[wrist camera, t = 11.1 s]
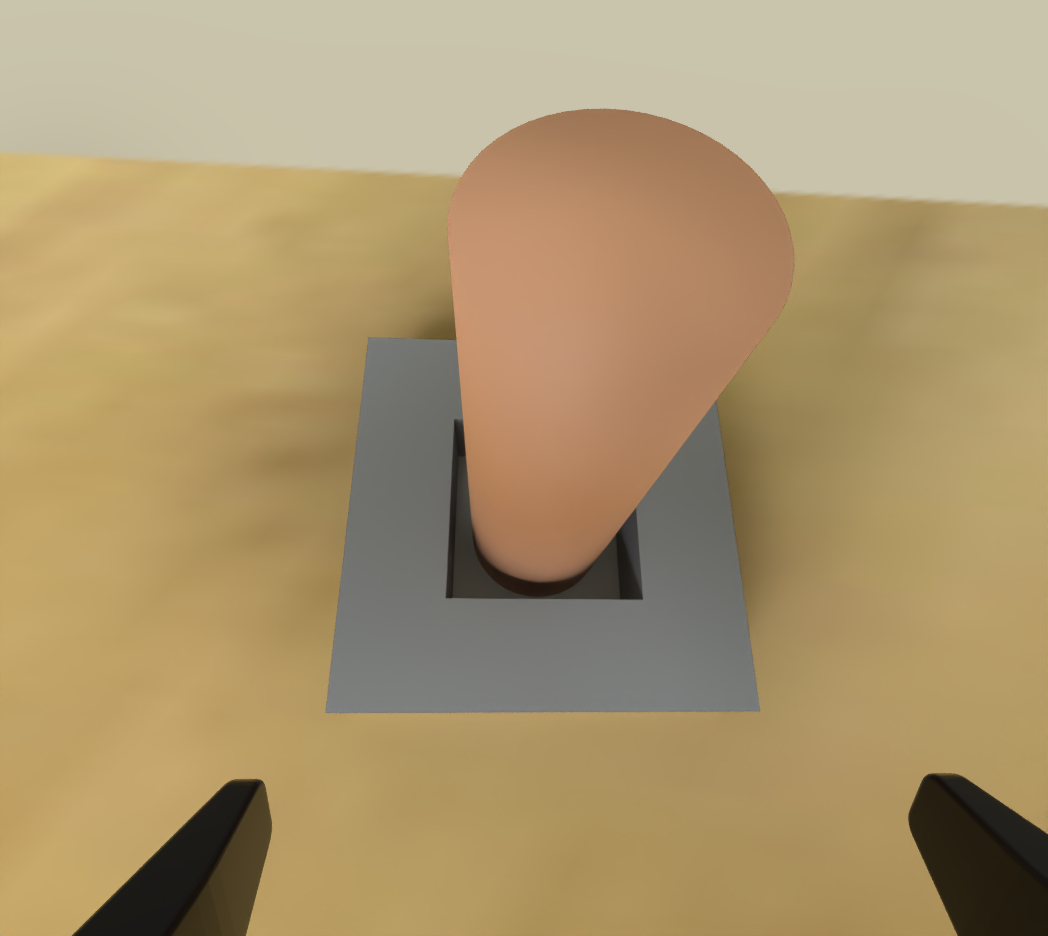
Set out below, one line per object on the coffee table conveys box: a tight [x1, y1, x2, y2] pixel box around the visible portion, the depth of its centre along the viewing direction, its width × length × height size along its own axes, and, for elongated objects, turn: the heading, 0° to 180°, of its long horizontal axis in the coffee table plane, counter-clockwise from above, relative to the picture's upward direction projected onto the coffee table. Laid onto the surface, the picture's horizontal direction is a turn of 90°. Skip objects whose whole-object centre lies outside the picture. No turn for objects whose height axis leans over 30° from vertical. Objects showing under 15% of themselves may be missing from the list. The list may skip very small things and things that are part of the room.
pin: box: [447, 109, 794, 597], centre depth 14 cm, size 4×4×14 cm
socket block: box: [325, 337, 760, 713], centre depth 19 cm, size 12×12×4 cm
